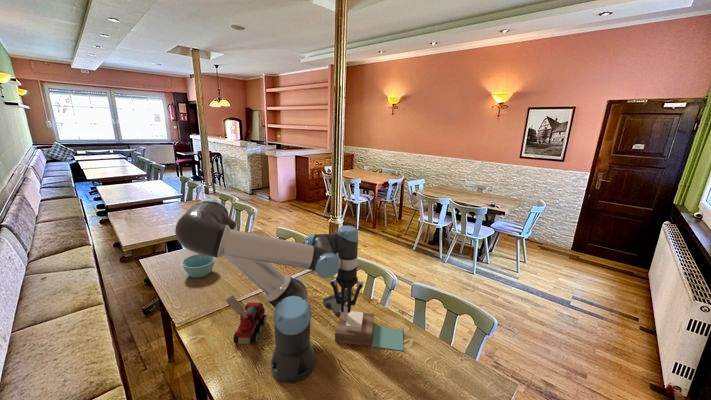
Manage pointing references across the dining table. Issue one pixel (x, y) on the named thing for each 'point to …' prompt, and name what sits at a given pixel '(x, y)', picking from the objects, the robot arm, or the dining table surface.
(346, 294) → the handgun
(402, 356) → the dining table surface
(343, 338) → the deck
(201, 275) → the bowl
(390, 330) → the mat
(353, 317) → the white rectangular block
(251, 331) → the toy fire truck
